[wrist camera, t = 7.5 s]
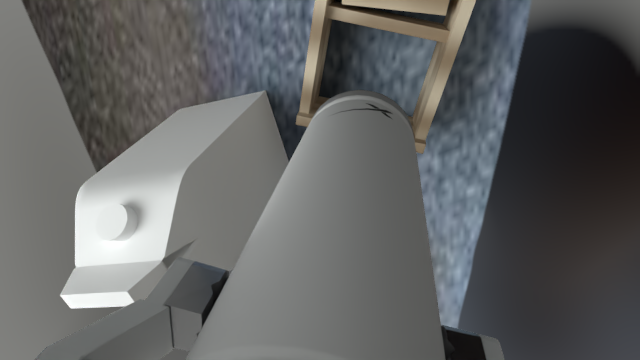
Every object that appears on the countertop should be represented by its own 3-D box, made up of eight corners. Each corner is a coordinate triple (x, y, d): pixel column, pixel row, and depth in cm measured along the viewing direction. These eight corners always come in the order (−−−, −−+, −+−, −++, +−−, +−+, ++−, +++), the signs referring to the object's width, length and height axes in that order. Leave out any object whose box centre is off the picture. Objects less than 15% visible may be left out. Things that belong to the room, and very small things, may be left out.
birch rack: (338, -86, 32) (327, -98, 26) (481, -59, 31) (502, -65, 26) (309, 102, 42) (295, 124, 36) (418, 126, 41) (422, 153, 35)
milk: (214, 185, 51) (77, 353, 29) (179, 109, 45) (-22, 242, 23) (292, 174, 47) (206, 353, 25) (265, 90, 42) (126, 225, 20)
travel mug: (372, 60, 19) (208, 898, 2) (433, 155, 21) (618, 952, 4) (284, 121, 21) (-117, 696, 4) (346, 200, 24) (234, 793, 7)
